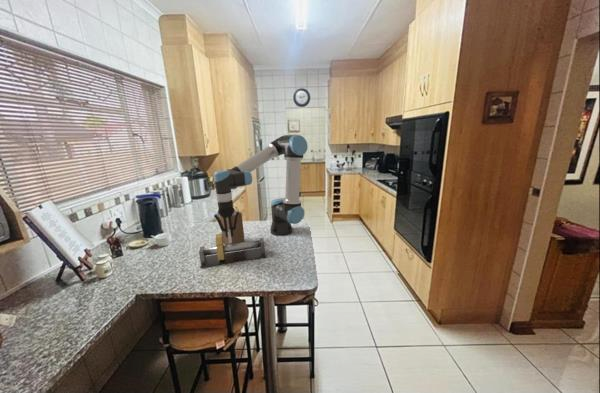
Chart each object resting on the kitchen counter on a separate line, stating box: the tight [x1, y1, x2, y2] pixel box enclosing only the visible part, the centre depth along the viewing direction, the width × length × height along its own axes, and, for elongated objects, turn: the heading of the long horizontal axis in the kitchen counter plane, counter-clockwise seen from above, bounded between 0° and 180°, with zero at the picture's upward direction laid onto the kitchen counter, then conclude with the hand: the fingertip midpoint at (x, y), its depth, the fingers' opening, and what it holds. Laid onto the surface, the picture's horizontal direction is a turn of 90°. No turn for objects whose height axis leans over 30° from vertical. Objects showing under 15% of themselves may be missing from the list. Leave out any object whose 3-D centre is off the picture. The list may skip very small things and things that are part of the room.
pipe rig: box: [198, 237, 267, 269], centre depth 136 cm, size 34×12×8 cm, turn 105°
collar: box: [214, 232, 225, 260], centre depth 134 cm, size 3×8×12 cm, turn 15°
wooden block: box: [219, 211, 245, 245], centre depth 154 cm, size 10×10×20 cm
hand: (230, 241), depth 135 cm, fingers closed
